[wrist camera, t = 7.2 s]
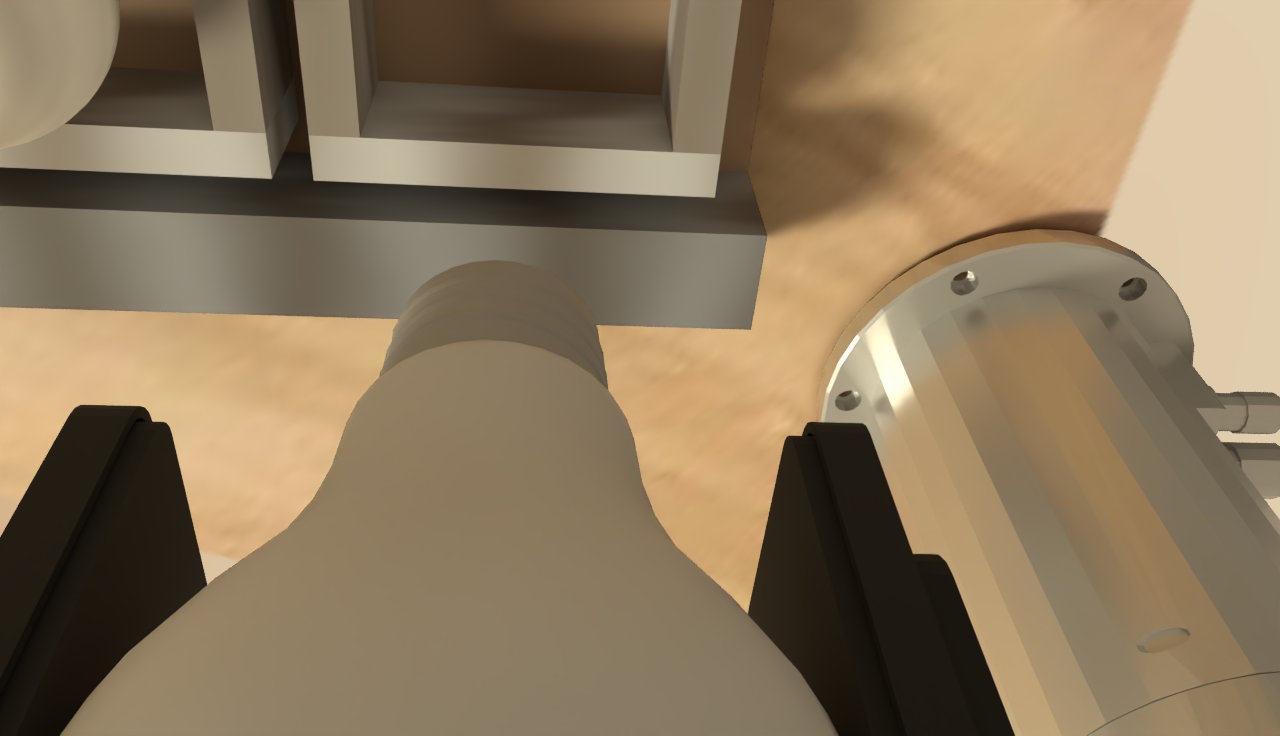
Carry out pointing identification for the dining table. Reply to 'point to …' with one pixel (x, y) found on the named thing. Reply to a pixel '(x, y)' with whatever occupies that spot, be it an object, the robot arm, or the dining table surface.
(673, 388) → the dining table surface
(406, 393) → the lightbulb
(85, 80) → the compartment tray
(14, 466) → the dining table surface
